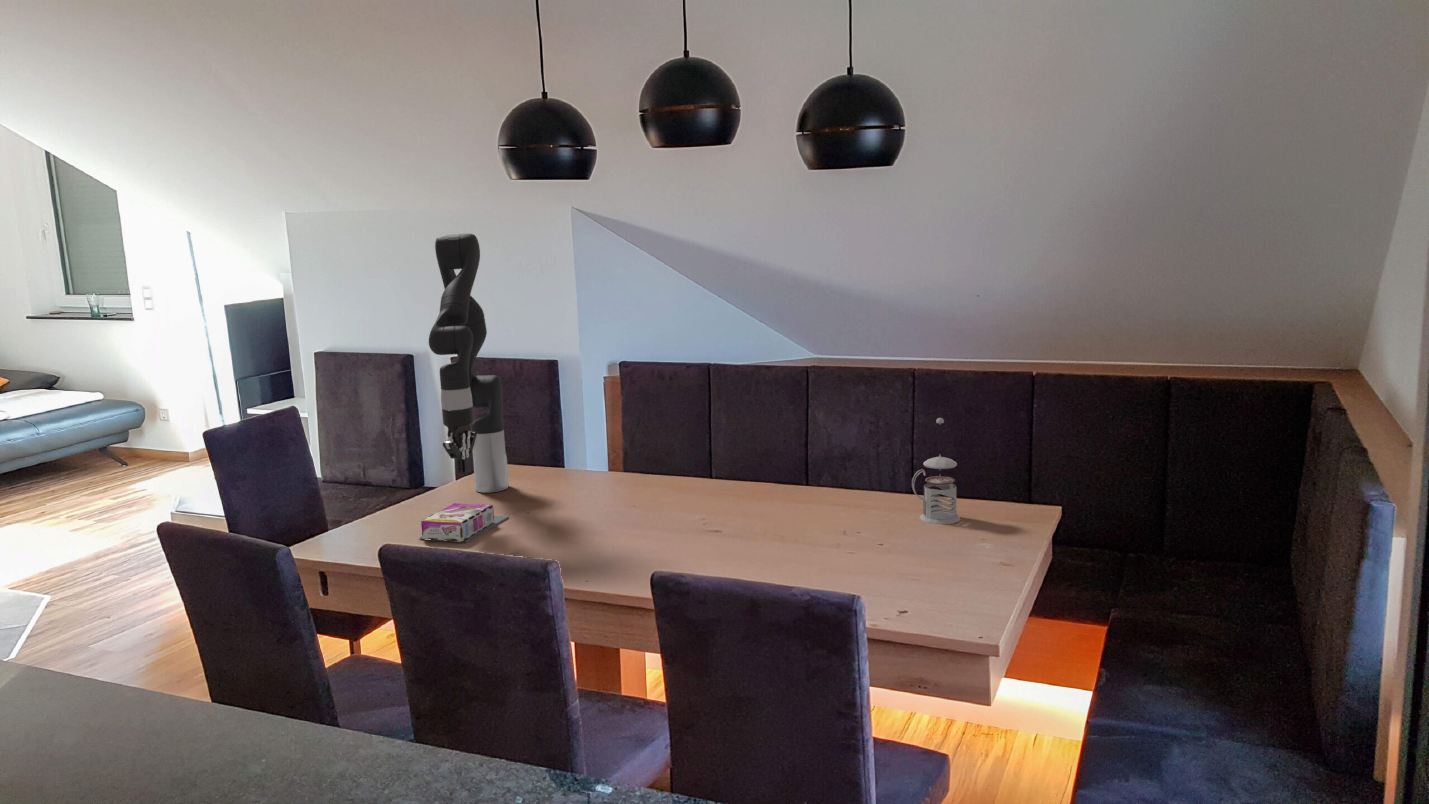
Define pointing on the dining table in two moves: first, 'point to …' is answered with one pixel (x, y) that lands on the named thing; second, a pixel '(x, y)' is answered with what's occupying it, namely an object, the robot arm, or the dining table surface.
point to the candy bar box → (457, 522)
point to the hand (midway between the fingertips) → (463, 472)
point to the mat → (496, 521)
